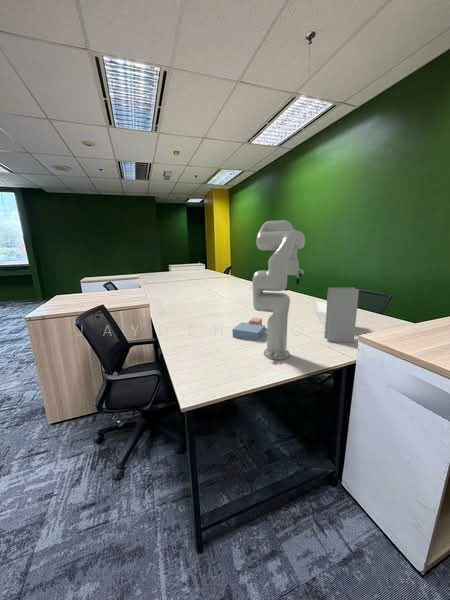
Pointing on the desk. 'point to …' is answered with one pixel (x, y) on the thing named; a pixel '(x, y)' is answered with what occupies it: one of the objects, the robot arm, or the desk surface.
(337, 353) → the desk surface
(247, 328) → the block
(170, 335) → the desk surface
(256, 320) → the stub
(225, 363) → the desk surface
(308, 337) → the desk surface
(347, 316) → the tall grey block
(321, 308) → the folded paper
